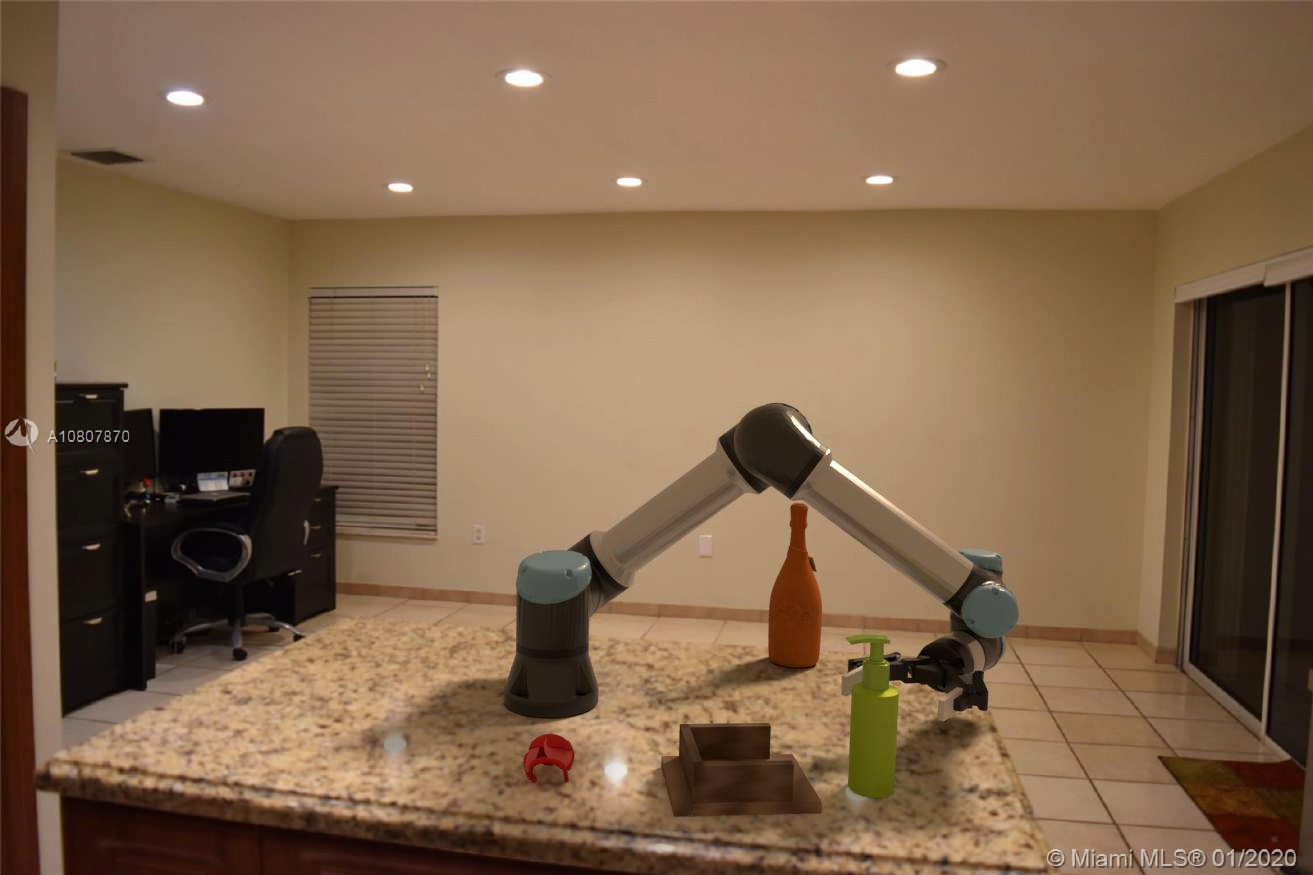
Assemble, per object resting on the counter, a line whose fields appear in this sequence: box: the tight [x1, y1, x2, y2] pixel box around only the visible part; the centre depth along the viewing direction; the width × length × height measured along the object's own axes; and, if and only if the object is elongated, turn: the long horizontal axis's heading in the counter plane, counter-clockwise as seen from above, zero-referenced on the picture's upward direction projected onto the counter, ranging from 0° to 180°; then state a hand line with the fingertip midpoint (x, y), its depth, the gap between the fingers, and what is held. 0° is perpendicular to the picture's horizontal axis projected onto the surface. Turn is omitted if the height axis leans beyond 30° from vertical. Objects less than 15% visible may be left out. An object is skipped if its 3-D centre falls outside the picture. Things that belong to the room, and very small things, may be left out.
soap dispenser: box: [845, 633, 900, 799], centre depth 117 cm, size 6×7×20 cm
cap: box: [522, 733, 576, 784], centre depth 118 cm, size 8×6×6 cm
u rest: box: [660, 722, 822, 818], centre depth 116 cm, size 18×14×6 cm
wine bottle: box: [767, 502, 823, 669], centre depth 169 cm, size 10×10×30 cm
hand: (890, 698), depth 120 cm, fingers open, 13 cm apart
